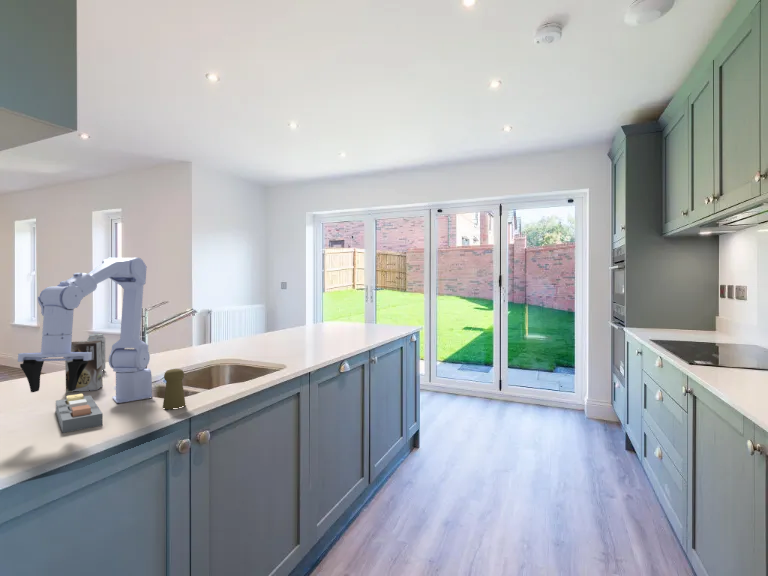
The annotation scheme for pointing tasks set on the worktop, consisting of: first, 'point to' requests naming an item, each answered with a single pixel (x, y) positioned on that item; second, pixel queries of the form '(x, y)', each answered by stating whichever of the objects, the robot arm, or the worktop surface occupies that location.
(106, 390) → the worktop surface
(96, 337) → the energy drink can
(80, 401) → the grey key
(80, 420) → the keypad
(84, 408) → the terracotta key
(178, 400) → the cork
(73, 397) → the brass key
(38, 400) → the worktop surface
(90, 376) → the coffee box
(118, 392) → the robot arm
